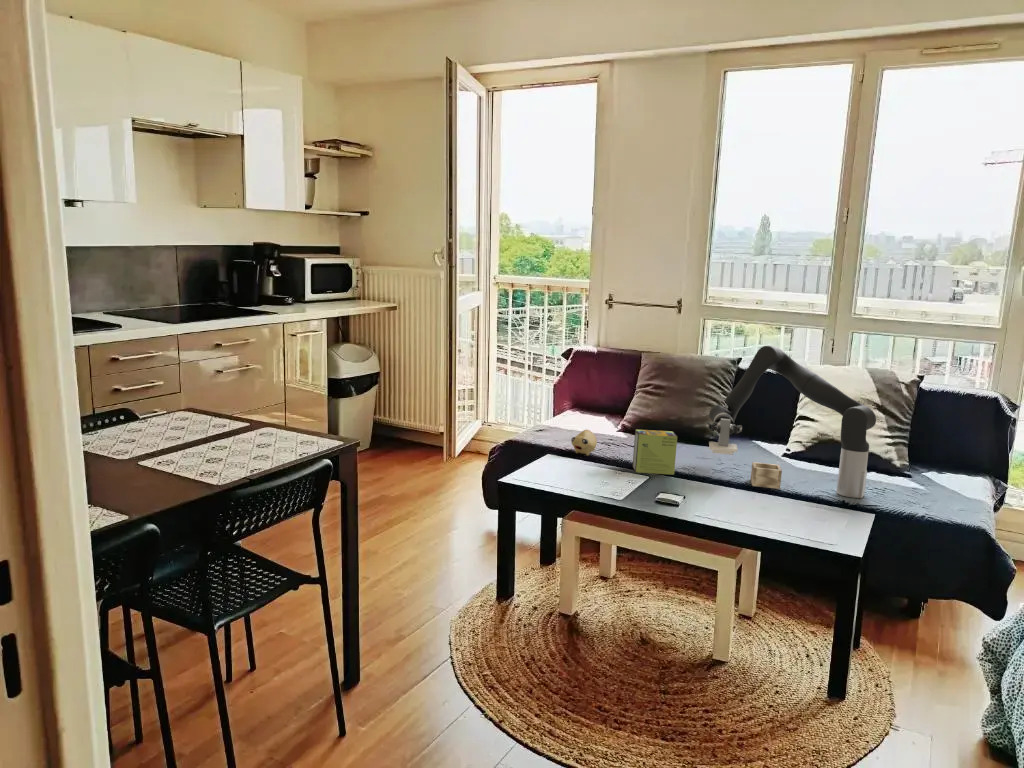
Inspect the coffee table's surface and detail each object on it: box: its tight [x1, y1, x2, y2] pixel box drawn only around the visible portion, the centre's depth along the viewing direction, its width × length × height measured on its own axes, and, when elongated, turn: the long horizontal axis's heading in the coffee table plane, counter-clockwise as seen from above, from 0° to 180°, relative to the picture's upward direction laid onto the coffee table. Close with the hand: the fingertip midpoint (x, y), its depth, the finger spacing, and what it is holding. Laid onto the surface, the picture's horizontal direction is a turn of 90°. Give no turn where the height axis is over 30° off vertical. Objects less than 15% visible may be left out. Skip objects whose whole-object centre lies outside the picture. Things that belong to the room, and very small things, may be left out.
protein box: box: [632, 429, 678, 476], centre depth 306 cm, size 10×15×16 cm
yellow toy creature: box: [570, 429, 598, 457], centre depth 329 cm, size 10×12×11 cm
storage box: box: [750, 461, 783, 490], centre depth 294 cm, size 10×10×7 cm
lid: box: [708, 418, 739, 456], centre depth 291 cm, size 10×10×12 cm
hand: (725, 431), depth 288 cm, fingers closed on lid, 3 cm apart
